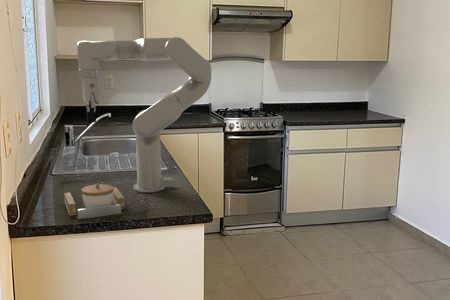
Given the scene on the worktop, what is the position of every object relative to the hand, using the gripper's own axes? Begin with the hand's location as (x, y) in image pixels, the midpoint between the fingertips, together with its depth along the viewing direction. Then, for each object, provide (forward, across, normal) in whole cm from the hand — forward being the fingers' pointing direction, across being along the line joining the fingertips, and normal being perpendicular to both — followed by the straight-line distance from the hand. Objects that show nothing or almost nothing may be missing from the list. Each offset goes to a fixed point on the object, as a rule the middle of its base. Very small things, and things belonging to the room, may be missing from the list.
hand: (91, 122), depth 189 cm
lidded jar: (+27, -26, +4) cm, 38 cm away
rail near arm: (+27, -22, -4) cm, 35 cm away
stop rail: (+27, -32, +4) cm, 42 cm away
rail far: (+27, -21, +13) cm, 37 cm away
